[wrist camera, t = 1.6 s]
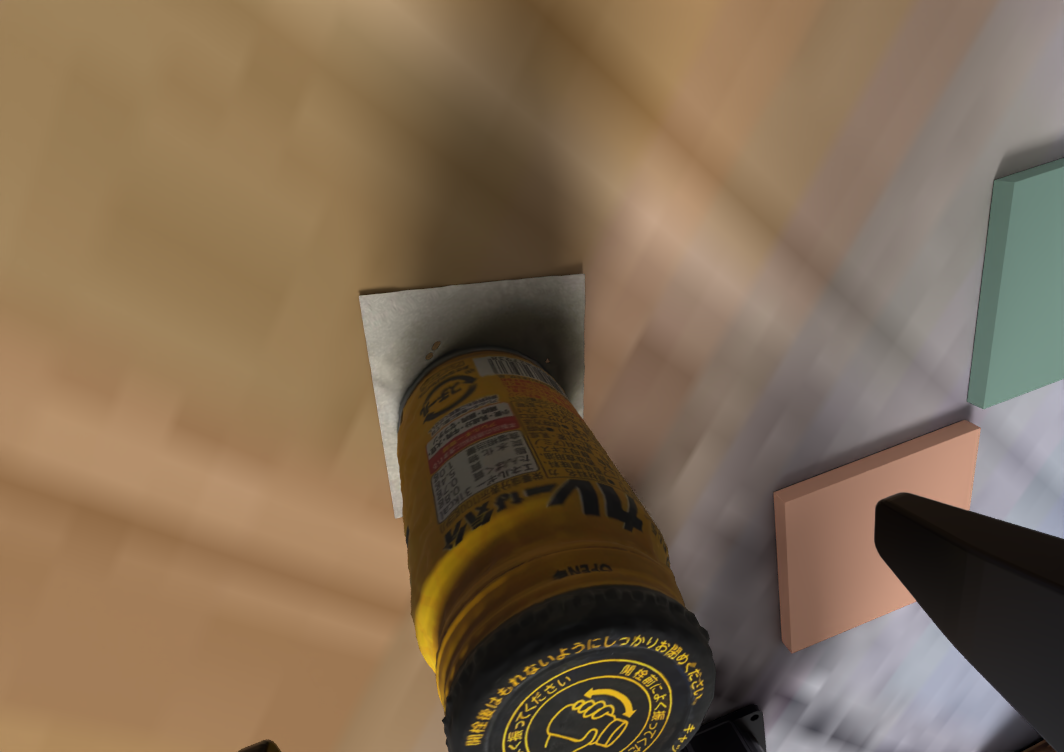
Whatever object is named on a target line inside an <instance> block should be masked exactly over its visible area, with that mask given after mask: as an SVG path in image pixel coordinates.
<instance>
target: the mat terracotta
mask: <svg viewBox="0 0 1064 752" xmlns="http://www.w3.org/2000/svg"><path fill="white" fill-rule="evenodd" d="M980 430H981V428H980V427H978V426H976V425H974V424H972V423H970V422H969V421H967V420H963V421H960V422H957V423H955V424H952V425H950V426H947V427H944V428H942V429H939V430H936V431H934V432H931V433H929V434H926V435H923V436H921V437H918V438H915V439H913V440H910V441H907V442H905V443H902V444H900V445H897V446H894V447H892V448H889V449H886V450H884V451H881V452H878V453H876V454H873V455H871V456H868V457H865V458H863V459H860V460H857V461H855V462H852V463H850V464H847V465H844V466H842V467H839V468H836V469H834V470H831V471H828V472H826V473H823V474H821V475H818V476H815V477H813V478H810V479H807V480H805V481H802V482H799V483H797V484H794V485H792V486H789V487H786V488H784V489H781V490H778V491H776V492H773V493H774V510H775V528H776V545H777V563H778V581H779V598H780V616H781V634H782V642H783V643H784V645H785V646H786V647H787V648H788V650H789V651H790V652H791V654H792V653H795V652H797V651H800V650H802V649H804V648H807V647H809V646H811V645H814V644H816V643H819V642H821V641H823V640H826V639H828V638H830V637H833V636H835V635H838V634H840V633H842V632H845V631H847V630H850V629H852V628H854V627H857V626H859V625H861V624H864V623H866V622H869V621H871V620H873V619H876V618H878V617H881V616H883V615H885V614H888V613H890V612H892V611H895V610H897V609H900V608H902V607H904V606H907V605H909V604H911V603H914V602H916V600H915V599H914V597H913V596H912V595H911V594H910V592H909V591H908V590H907V589H906V588H905V586H904V585H903V584H902V583H901V581H900V580H899V579H898V578H897V577H896V575H895V574H894V573H893V572H892V570H891V569H890V568H889V567H888V565H887V564H886V563H885V562H884V561H883V559H882V558H881V557H880V555H879V553H878V552H877V549H876V547H875V543H874V526H875V507H876V504H877V503H878V501H880V500H881V499H884V498H886V497H889V496H891V495H894V494H896V493H900V492H907V493H911V494H915V495H918V496H922V497H925V498H928V499H932V500H935V501H938V502H942V503H945V504H948V505H952V506H955V507H958V508H962V509H965V510H968V511H969V509H970V502H971V495H972V487H973V480H974V473H975V466H976V459H977V451H978V444H979V437H980Z"/></svg>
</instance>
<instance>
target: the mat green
mask: <svg viewBox="0 0 1064 752" xmlns="http://www.w3.org/2000/svg"><path fill="white" fill-rule="evenodd" d="M1062 379H1064V158H1062V159H1059V160H1056V161H1053V162H1049V163H1046V164H1043V165H1040V166H1037V167H1034V168H1031V169H1028V170H1025V171H1022V172H1018V173H1015V174H1012V175H1009V176H1006V177H1003V178H1000V179H997V180H994V187H993V195H992V203H991V211H990V220H989V228H988V236H987V244H986V252H985V260H984V268H983V277H982V285H981V293H980V301H979V309H978V317H977V325H976V334H975V342H974V350H973V358H972V366H971V374H970V383H969V391H968V399H967V402H969V403H971V404H973V405H975V406H977V407H980V408H982V409H985V408H988V407H991V406H993V405H996V404H999V403H1001V402H1004V401H1007V400H1009V399H1012V398H1014V397H1017V396H1020V395H1022V394H1025V393H1028V392H1030V391H1033V390H1036V389H1038V388H1041V387H1043V386H1046V385H1049V384H1051V383H1054V382H1057V381H1059V380H1062Z"/></svg>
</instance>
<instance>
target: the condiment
mask: <svg viewBox="0 0 1064 752" xmlns="http://www.w3.org/2000/svg"><path fill="white" fill-rule="evenodd" d="M359 300H360V306H361V312H362V319H363V325H364V331H365V337H366V343H367V349H368V356H369V362H370V366H371V373H372V380H373V386H374V392H375V398H376V404H377V410H378V416H379V422H380V428H381V434H382V440H383V447H384V453H385V459H386V465H387V471H388V477H389V483H390V489H391V495H392V502H393V508H394V515H395V518H400V517H403V522H404V533H405V537H406V544H407V548H408V550H407V551H408V569H409V572H410V585H411V615H412V618H413V622H414V625H415V631H416V638H417V641H418V645H419V649H420V651H421V653H422V655H423V657H424V659H425V660H426V662H427V663H428V665H429V666H430V667H431V668H432V669H433V671H434V672H435V673H436V683H437V689H438V694H439V698H440V700H441V703H442V705H443V707H444V714H445V717H444V718H443V720H442V722H443V723H444V732H445V734H446V737H447V739H446V745H447V747H448V751H449V752H679V751H680V750H682V749H683V748H684V747H685V746H686V745H687V744H688V742H689V741H690V740H691V739H692V738H693V736H694V735H695V733H696V732H697V731H698V730H699V728H700V726H701V723H702V721H703V718H704V716H705V714H706V712H707V710H708V708H709V706H710V704H711V702H712V700H713V698H714V686H715V677H716V670H715V664H714V661H713V657H712V656H713V655H712V651H711V649H710V647H709V644H708V641H709V639H710V638H709V635H708V631H707V630H705V629H704V628H703V627H701V626H700V625H699V623H698V621H697V619H696V617H695V615H694V614H693V613H692V612H690V611H688V610H687V609H686V607H685V605H684V601H683V599H682V596H681V593H680V591H679V589H678V587H677V585H676V582H675V577H674V575H673V572H672V571H671V569H670V562H669V555H668V548H667V546H666V543H665V541H664V539H663V536H662V534H661V532H660V531H659V529H658V528H657V526H656V525H655V523H654V522H653V520H652V519H651V517H650V516H649V514H648V513H647V511H646V510H645V508H644V507H643V505H642V504H641V502H640V501H639V499H638V498H637V497H636V495H635V494H634V493H633V491H632V490H631V487H630V486H629V485H628V484H627V483H626V481H625V480H624V478H623V477H622V476H621V474H620V473H619V471H618V470H617V468H616V467H615V465H614V464H613V462H612V461H611V459H610V458H609V456H608V455H607V454H606V451H605V450H604V449H603V447H602V446H601V445H600V443H599V442H598V441H597V439H596V438H595V436H594V435H593V433H592V431H591V430H590V429H589V428H588V426H587V425H586V423H585V422H584V420H583V409H584V406H583V393H584V383H583V382H584V369H585V366H584V312H585V274H575V275H565V276H548V277H537V278H526V279H519V280H504V281H495V282H484V283H475V284H465V285H451V286H445V287H438V288H429V289H418V290H406V291H399V292H391V293H382V294H372V295H363V296H359ZM436 341H440V342H441V343H440V345H439V347H438V348H437V349H436V350H434V351H433V350H432V346H433V345H434V343H435V342H436ZM429 353H433V357H432V358H431V359H430V360H427V359H426V360H425V358H426V356H427V355H428V354H429ZM548 358H549V360H550V362H549V363H546V362H545V361H546V359H548Z"/></svg>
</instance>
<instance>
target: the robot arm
mask: <svg viewBox="0 0 1064 752" xmlns="http://www.w3.org/2000/svg"><path fill="white" fill-rule="evenodd" d="M874 543H875V547H876V549H877V552H878V553H879V555H880V557H881V558H882V559H883V561H884V562H885V563H886V564H887V565H888V567H889V568H890V569H891V570H892V572H893V573H894V574H895V575H896V577H897V578H898V579H899V580H900V581H901V583H902V584H903V585H904V586H905V588H906V589H907V590H908V591H909V592H910V594H911V595H912V596H913V597H914V599H915V600H916V601H917V602H918V603H919V605H920V606H921V607H922V608H923V610H924V611H925V612H926V613H927V614H928V616H929V617H930V618H931V619H932V621H933V622H934V623H935V624H936V626H937V627H938V628H939V629H940V630H941V632H942V633H943V634H944V635H945V636H946V637H947V639H948V640H949V641H950V642H951V643H952V644H953V646H954V647H955V648H956V649H957V650H958V651H959V652H960V653H961V654H962V655H963V656H964V657H965V658H966V659H967V661H968V662H969V663H970V664H971V665H972V666H973V667H974V668H975V669H976V670H977V671H978V672H979V673H980V674H981V675H982V676H983V677H984V678H985V679H986V680H987V681H988V682H989V683H990V684H991V685H992V686H993V687H994V688H995V689H996V690H997V691H998V692H999V693H1000V694H1001V695H1002V696H1003V697H1004V699H1005V700H1006V701H1007V702H1008V703H1009V704H1010V705H1011V706H1012V707H1013V708H1014V709H1015V710H1016V711H1017V712H1018V713H1019V714H1020V715H1021V716H1022V717H1023V718H1024V719H1025V720H1026V721H1027V722H1028V723H1029V724H1030V725H1031V726H1032V727H1033V728H1034V729H1035V730H1036V731H1037V732H1038V733H1039V734H1040V735H1041V736H1042V737H1043V738H1044V739H1045V740H1046V742H1047V743H1048V744H1049V745H1050V746H1051V747H1052V748H1053V749H1054V750H1055V751H1056V752H1064V539H1062V538H1059V537H1055V536H1052V535H1049V534H1045V533H1042V532H1039V531H1035V530H1032V529H1029V528H1025V527H1022V526H1019V525H1015V524H1012V523H1009V522H1005V521H1002V520H999V519H995V518H992V517H988V516H985V515H982V514H978V513H975V512H972V511H968V510H965V509H962V508H958V507H955V506H952V505H948V504H945V503H942V502H938V501H935V500H932V499H928V498H925V497H922V496H918V495H915V494H911V493H907V492H900V493H896V494H894V495H891V496H889V497H886V498H884V499H881V500H880V501H878V503H877V504H876V507H875V526H874ZM238 752H281V751H280V749H279V748H278V746H277V745H276V744H275V743H274V742H273V741H271V740H263V741H261V742H258V743H256V744H253V745H250V746H248V747H245V748H243V749H241V750H239V751H238ZM679 752H766V744H765V732H764V720H763V713H762V711H761V710H760V708H759V707H758V706H757V705H750V706H747V707H745V708H743V709H740V710H738V711H736V712H733V713H731V714H729V715H726V716H724V717H722V718H719V719H717V720H715V721H712V722H710V723H708V724H705V725H703V726H701V727H700V728H699V730H698V731H697V732H696V733H695V735H694V736H693V738H692V739H691V740H690V741H689V742H688V744H687V745H686V746H685V747H684V748H683V749H682V750H680V751H679Z"/></svg>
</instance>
